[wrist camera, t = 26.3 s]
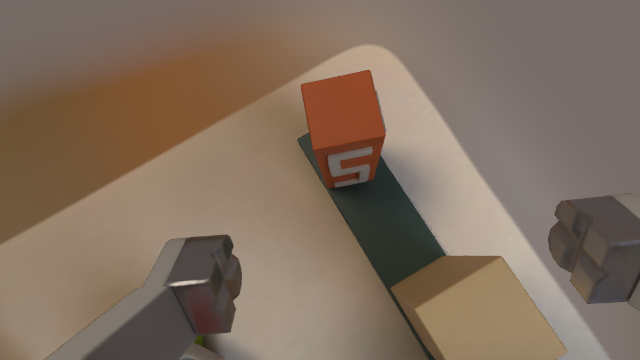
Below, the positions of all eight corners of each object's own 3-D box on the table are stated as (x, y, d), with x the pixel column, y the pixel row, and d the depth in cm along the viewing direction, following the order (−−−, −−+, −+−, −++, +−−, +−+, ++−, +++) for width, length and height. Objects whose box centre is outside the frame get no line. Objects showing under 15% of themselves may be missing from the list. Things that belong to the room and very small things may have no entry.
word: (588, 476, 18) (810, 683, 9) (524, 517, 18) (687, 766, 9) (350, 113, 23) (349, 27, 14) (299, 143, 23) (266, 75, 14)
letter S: (327, 192, 21) (313, 155, 13) (318, 144, 22) (300, 83, 14) (377, 182, 21) (392, 139, 13) (367, 134, 22) (375, 67, 14)
